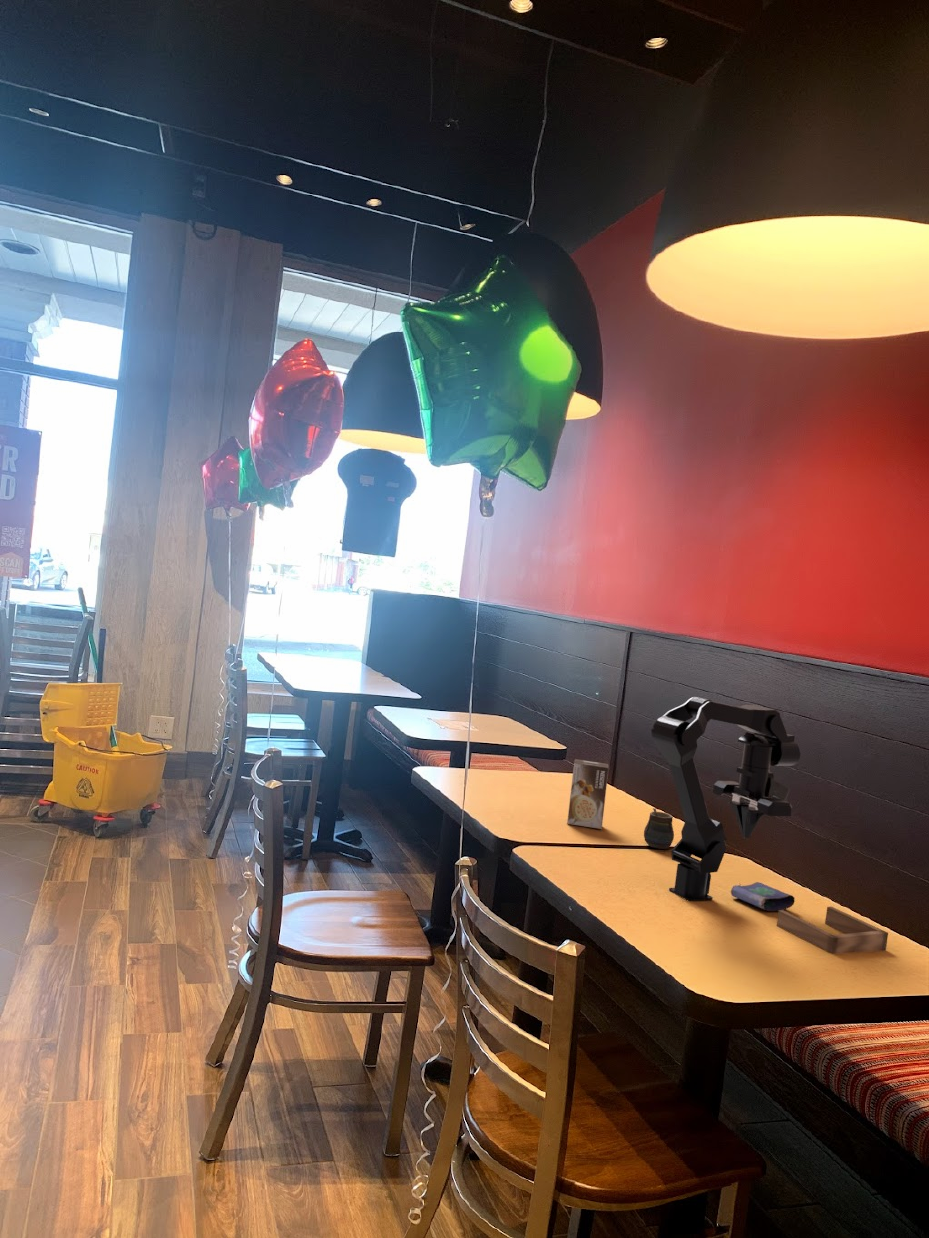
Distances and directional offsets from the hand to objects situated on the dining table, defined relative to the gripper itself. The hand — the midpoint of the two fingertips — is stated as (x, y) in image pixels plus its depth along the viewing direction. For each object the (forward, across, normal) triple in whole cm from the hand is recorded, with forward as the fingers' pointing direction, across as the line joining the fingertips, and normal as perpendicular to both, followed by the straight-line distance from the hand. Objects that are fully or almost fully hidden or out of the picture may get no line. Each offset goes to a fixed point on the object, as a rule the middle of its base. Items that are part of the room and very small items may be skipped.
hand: (745, 837), depth 196 cm
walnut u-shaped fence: (+12, -24, -1) cm, 27 cm away
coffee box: (+12, +50, +9) cm, 53 cm away
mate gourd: (+12, +32, -1) cm, 34 cm away
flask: (+13, -11, -1) cm, 17 cm away
